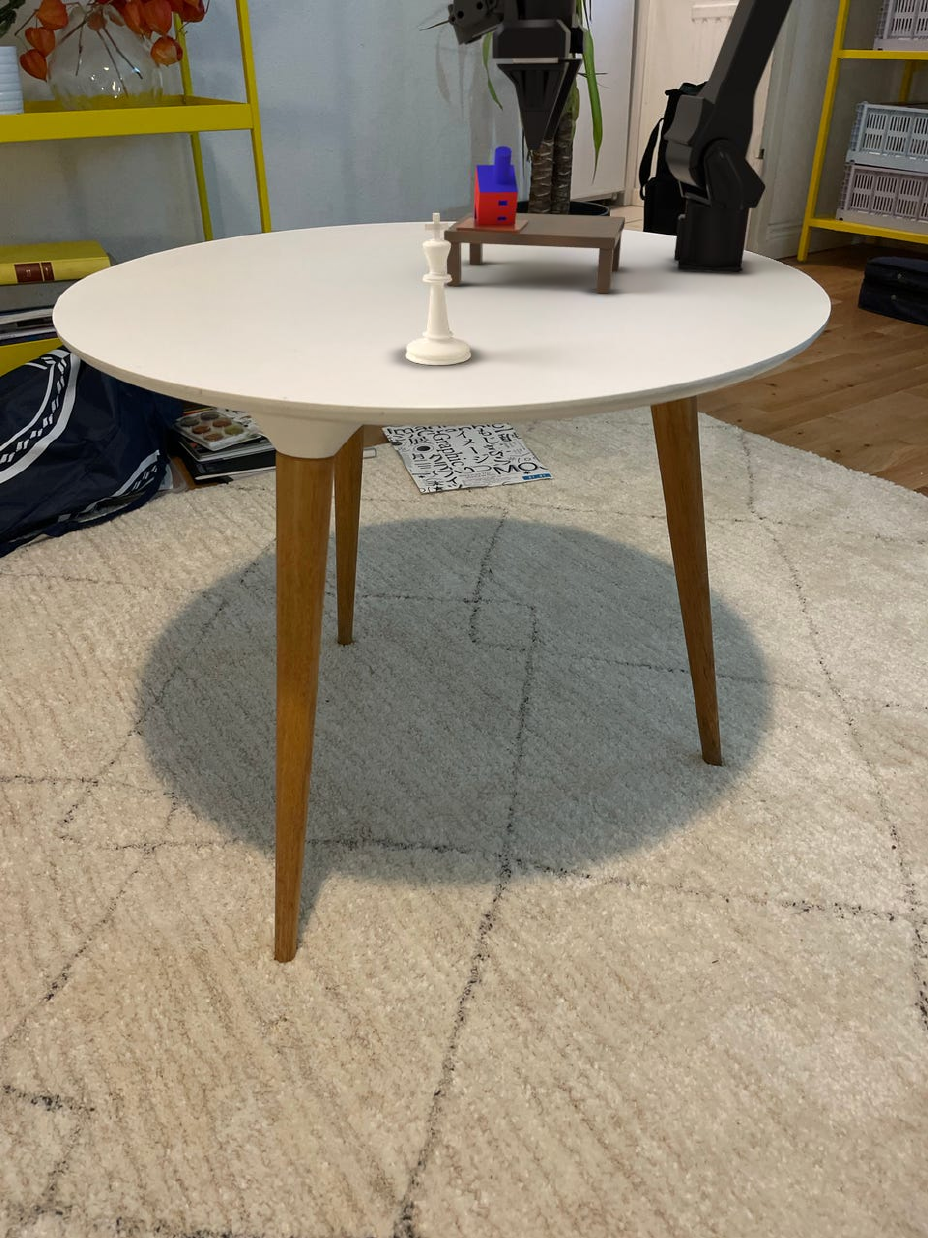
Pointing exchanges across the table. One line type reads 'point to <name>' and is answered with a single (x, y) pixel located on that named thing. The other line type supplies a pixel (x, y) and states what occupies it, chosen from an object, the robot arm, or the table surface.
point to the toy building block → (496, 191)
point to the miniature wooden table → (539, 239)
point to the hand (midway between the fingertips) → (540, 144)
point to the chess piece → (437, 308)
